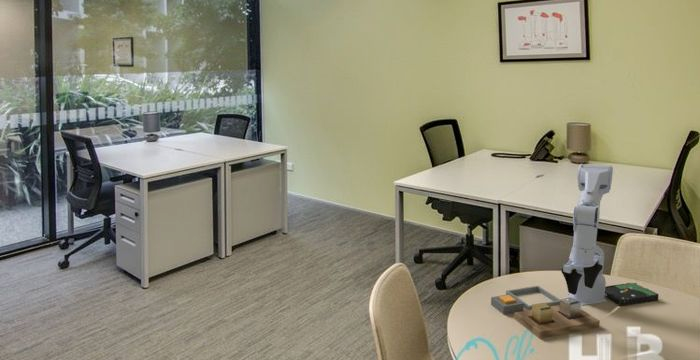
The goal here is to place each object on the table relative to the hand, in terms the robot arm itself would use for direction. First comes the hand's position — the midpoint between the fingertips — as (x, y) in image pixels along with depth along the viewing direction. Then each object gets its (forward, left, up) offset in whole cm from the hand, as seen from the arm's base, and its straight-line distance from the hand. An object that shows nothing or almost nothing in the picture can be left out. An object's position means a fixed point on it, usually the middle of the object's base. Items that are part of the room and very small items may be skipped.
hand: (580, 290), depth 148 cm
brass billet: (+12, 0, -9) cm, 16 cm away
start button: (+15, -13, -9) cm, 22 cm away
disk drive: (-26, -9, -11) cm, 30 cm away
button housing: (+15, -13, -10) cm, 23 cm away
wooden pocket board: (+7, 0, -10) cm, 12 cm away
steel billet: (+3, -1, -9) cm, 10 cm away
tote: (+4, -15, -10) cm, 19 cm away
